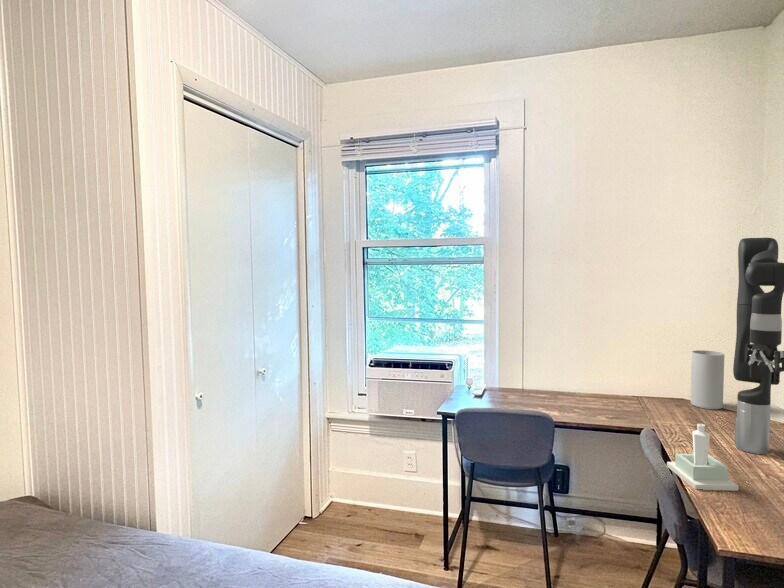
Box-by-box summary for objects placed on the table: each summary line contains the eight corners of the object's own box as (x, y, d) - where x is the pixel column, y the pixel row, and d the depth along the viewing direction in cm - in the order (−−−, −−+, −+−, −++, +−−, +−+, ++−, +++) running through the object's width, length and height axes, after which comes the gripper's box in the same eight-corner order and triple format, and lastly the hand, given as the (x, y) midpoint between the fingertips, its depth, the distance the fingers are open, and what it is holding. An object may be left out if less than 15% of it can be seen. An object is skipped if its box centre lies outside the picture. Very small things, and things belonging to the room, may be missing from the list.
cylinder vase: (687, 405, 216) (688, 352, 215) (694, 400, 225) (695, 349, 224) (719, 411, 207) (721, 356, 206) (725, 405, 216) (727, 352, 215)
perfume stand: (666, 466, 151) (667, 449, 151) (705, 467, 150) (705, 450, 150) (695, 489, 135) (695, 471, 135) (738, 490, 135) (738, 472, 134)
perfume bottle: (709, 471, 144) (711, 424, 143) (707, 476, 140) (709, 428, 139) (692, 467, 146) (693, 421, 146) (689, 472, 143) (691, 424, 142)
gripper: (797, 331, 134) (795, 387, 135) (761, 325, 148) (760, 375, 149) (769, 331, 134) (767, 386, 135) (737, 325, 148) (735, 375, 149)
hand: (763, 380), depth 142 cm, fingers open, 8 cm apart
